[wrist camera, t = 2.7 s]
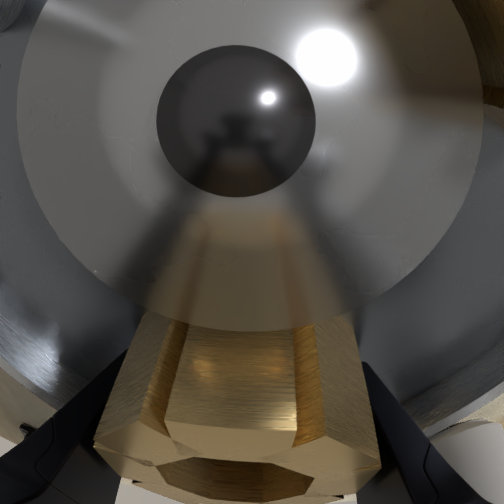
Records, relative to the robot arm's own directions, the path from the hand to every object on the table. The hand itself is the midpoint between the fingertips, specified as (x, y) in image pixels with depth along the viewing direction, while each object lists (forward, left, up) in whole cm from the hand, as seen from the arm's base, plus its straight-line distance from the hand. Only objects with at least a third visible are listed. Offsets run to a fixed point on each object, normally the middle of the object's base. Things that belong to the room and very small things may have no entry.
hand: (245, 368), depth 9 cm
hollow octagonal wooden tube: (0, 0, 0) cm, 0 cm away
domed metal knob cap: (-2, +7, 0) cm, 7 cm away
